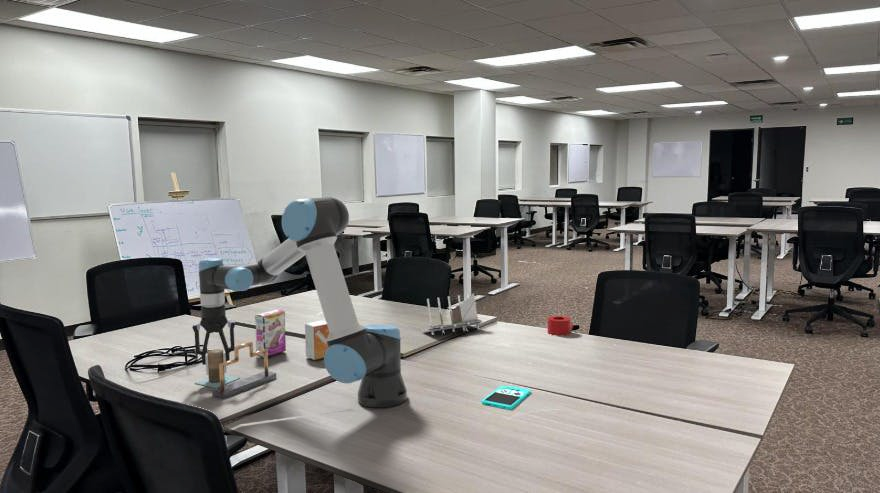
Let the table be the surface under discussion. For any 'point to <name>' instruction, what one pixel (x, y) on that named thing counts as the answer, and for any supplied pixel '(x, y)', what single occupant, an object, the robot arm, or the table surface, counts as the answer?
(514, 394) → the handheld game console
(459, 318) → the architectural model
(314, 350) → the small box
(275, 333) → the candy bar box
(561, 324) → the red saucepan
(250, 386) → the wire frame
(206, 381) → the mat
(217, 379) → the walnut peg
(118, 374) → the table surface
